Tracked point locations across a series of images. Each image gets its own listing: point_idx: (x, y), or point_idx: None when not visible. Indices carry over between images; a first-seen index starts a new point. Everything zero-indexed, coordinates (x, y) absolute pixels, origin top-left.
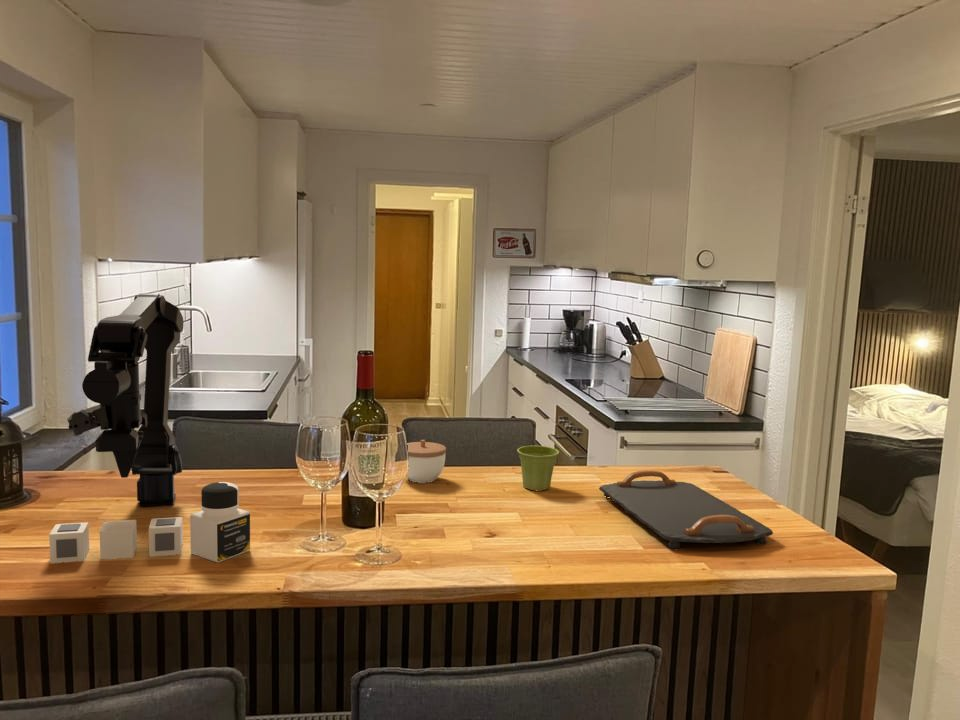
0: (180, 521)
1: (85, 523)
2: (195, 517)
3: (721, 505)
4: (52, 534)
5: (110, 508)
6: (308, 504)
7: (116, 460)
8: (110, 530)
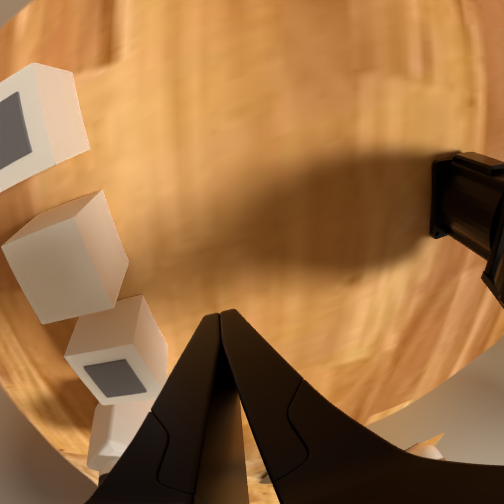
0: (133, 400)
1: (43, 161)
2: (101, 445)
3: None
4: None
5: (429, 91)
6: (368, 420)
7: (147, 424)
8: (15, 273)
